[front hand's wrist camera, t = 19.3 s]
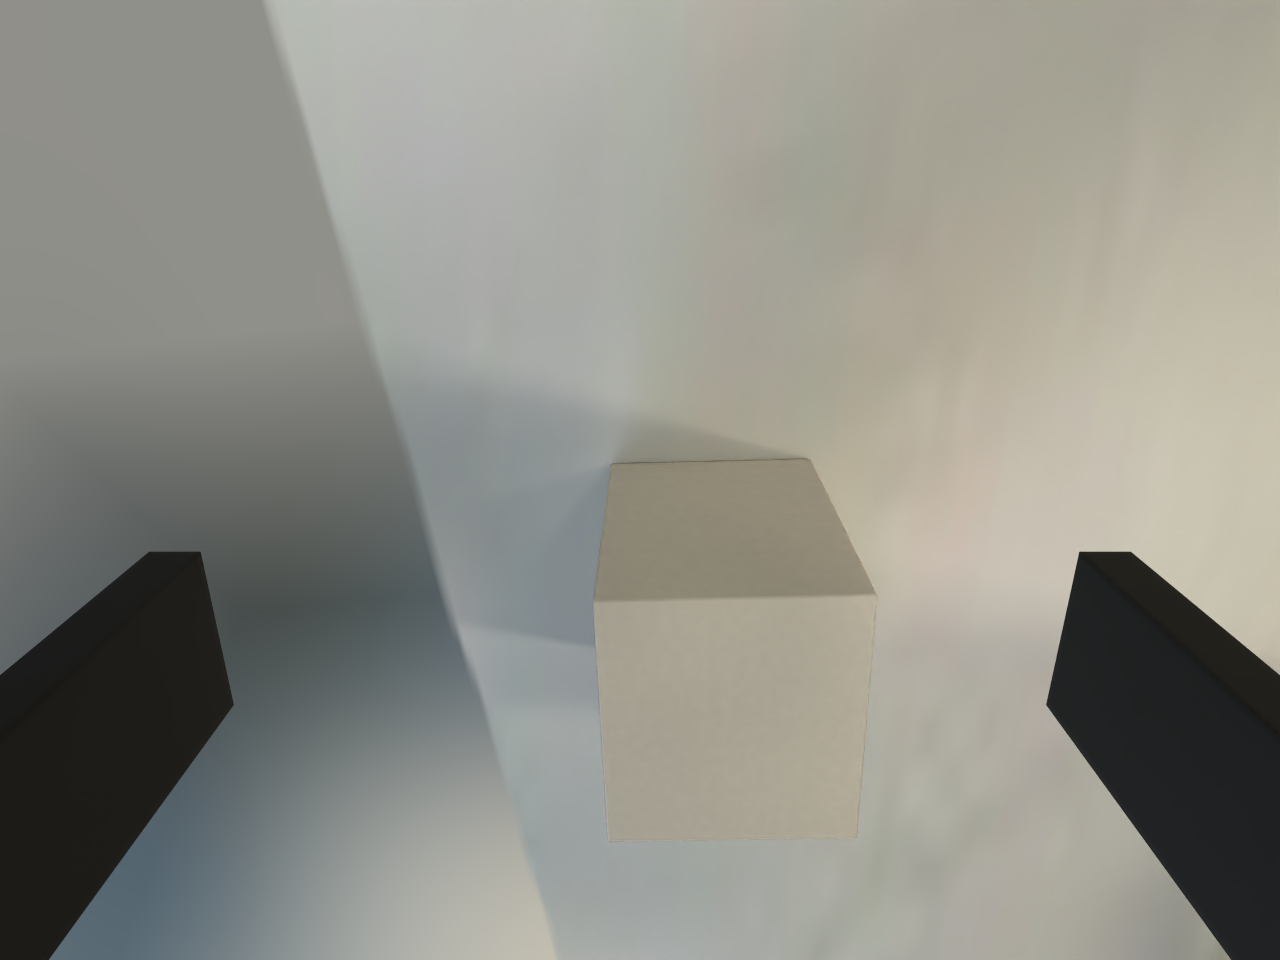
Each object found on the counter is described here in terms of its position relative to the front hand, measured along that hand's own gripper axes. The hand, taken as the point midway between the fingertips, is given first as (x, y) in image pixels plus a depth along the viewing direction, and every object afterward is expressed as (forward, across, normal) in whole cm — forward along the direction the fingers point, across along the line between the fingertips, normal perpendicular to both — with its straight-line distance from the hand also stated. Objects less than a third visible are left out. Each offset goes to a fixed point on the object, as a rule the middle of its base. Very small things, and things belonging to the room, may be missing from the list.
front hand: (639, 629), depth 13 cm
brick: (+20, +3, -9) cm, 22 cm away
